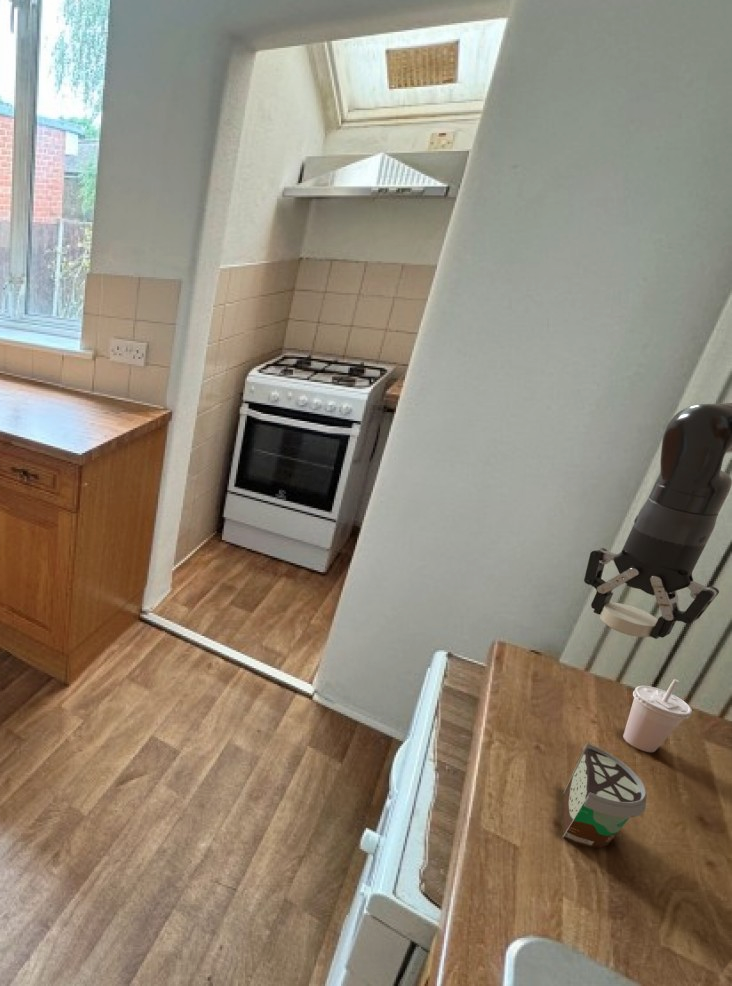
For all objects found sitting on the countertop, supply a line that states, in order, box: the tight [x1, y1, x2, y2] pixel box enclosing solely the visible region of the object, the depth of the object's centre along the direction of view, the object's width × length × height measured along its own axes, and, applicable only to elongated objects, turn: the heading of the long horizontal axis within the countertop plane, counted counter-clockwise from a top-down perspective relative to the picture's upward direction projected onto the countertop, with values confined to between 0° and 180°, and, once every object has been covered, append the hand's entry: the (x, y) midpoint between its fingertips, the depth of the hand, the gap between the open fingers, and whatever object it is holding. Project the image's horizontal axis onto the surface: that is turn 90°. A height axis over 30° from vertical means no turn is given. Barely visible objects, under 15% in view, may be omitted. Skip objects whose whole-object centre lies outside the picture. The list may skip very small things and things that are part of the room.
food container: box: [562, 742, 648, 848], centre depth 83 cm, size 12×6×10 cm, turn 137°
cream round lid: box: [598, 602, 658, 638], centre depth 95 cm, size 6×6×3 cm
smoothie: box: [622, 678, 693, 753], centre depth 97 cm, size 6×6×14 cm
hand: (626, 623), depth 96 cm, fingers closed on cream round lid, 6 cm apart
